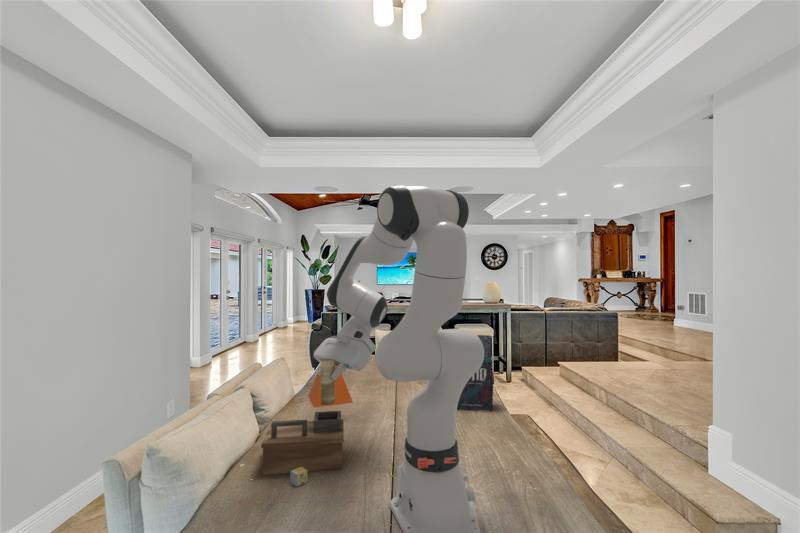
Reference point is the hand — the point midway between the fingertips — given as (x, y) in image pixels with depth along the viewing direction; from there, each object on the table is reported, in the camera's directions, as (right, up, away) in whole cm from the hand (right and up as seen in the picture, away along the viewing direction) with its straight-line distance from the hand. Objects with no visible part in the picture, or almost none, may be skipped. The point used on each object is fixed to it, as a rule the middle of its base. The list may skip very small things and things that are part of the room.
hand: (326, 377), depth 107 cm
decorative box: (+49, -23, +39) cm, 67 cm away
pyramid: (-8, -24, +48) cm, 54 cm away
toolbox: (-5, -22, -3) cm, 23 cm away
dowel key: (0, -7, 0) cm, 7 cm away
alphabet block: (-4, -22, -14) cm, 27 cm away
